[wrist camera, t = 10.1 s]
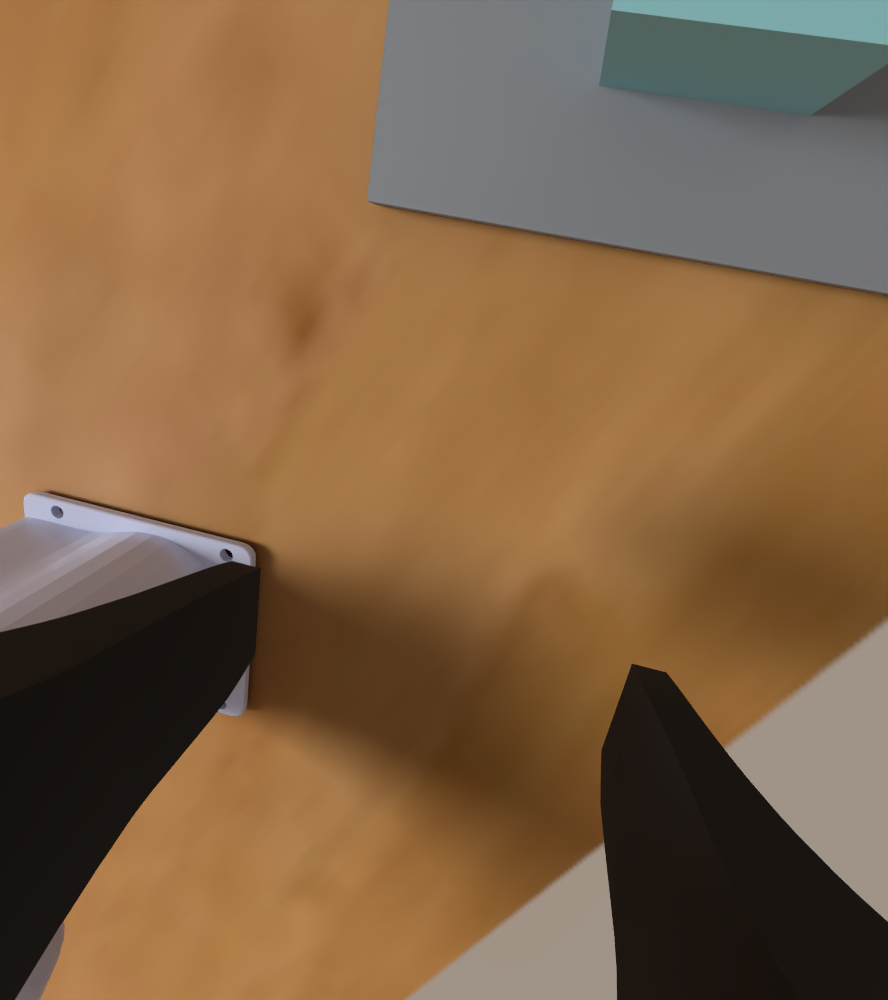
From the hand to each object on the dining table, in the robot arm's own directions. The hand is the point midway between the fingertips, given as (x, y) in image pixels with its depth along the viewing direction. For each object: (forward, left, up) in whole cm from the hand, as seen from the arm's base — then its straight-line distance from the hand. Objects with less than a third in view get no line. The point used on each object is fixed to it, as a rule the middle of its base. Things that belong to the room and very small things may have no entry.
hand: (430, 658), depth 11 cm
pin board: (+3, +14, -9) cm, 17 cm away
